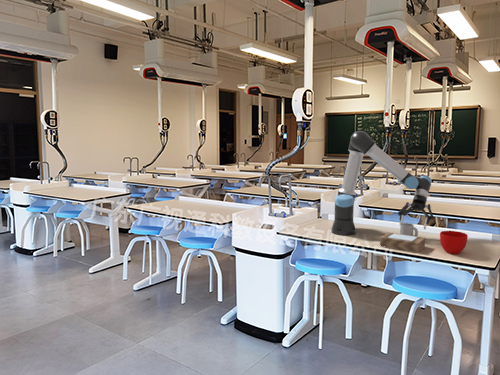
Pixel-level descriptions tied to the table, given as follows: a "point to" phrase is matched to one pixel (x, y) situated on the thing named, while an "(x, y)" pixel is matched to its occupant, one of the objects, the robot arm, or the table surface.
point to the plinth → (402, 242)
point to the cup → (408, 229)
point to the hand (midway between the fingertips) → (412, 226)
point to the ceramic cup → (453, 241)
